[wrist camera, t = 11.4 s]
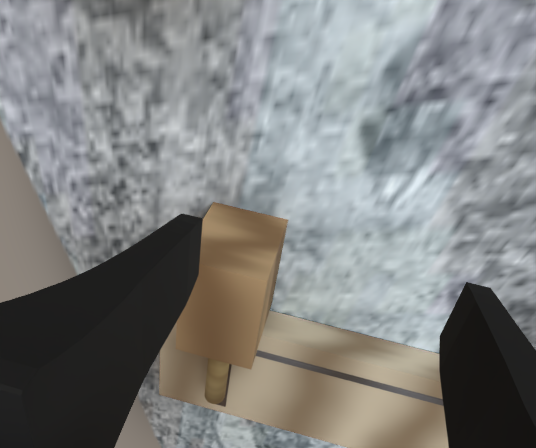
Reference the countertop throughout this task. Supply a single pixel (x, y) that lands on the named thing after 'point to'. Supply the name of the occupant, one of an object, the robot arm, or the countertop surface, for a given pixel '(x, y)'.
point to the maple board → (323, 386)
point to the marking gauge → (231, 291)
